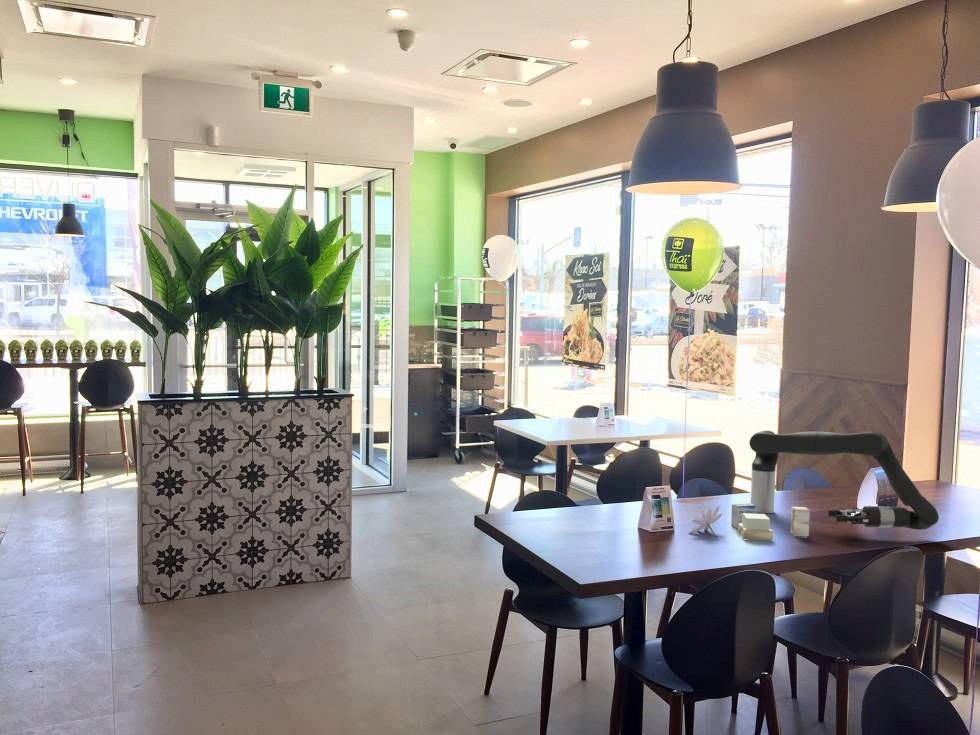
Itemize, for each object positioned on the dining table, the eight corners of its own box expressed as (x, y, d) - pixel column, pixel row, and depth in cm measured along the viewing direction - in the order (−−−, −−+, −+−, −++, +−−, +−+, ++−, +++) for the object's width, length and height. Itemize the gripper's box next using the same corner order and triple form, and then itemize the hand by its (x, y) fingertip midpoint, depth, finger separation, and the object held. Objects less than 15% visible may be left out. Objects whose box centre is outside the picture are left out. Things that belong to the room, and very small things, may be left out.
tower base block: (737, 533, 308) (738, 523, 308) (765, 534, 307) (765, 524, 307) (743, 541, 298) (744, 530, 298) (772, 542, 297) (772, 531, 297)
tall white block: (790, 533, 308) (791, 506, 308) (804, 534, 308) (805, 507, 307) (794, 537, 303) (795, 509, 303) (808, 537, 303) (809, 510, 302)
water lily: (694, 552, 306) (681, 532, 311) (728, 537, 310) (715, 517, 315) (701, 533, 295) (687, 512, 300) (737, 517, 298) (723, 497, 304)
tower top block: (742, 523, 307) (742, 513, 307) (764, 524, 306) (764, 514, 306) (746, 529, 299) (746, 518, 299) (769, 530, 298) (769, 519, 298)
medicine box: (737, 529, 314) (737, 506, 313) (730, 526, 318) (731, 503, 318) (755, 527, 316) (756, 505, 315) (749, 525, 320) (749, 502, 320)
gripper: (870, 502, 310) (826, 501, 311) (886, 510, 296) (839, 509, 297) (870, 522, 310) (825, 521, 312) (885, 531, 296) (838, 530, 297)
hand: (832, 515), depth 304 cm, fingers open, 8 cm apart
